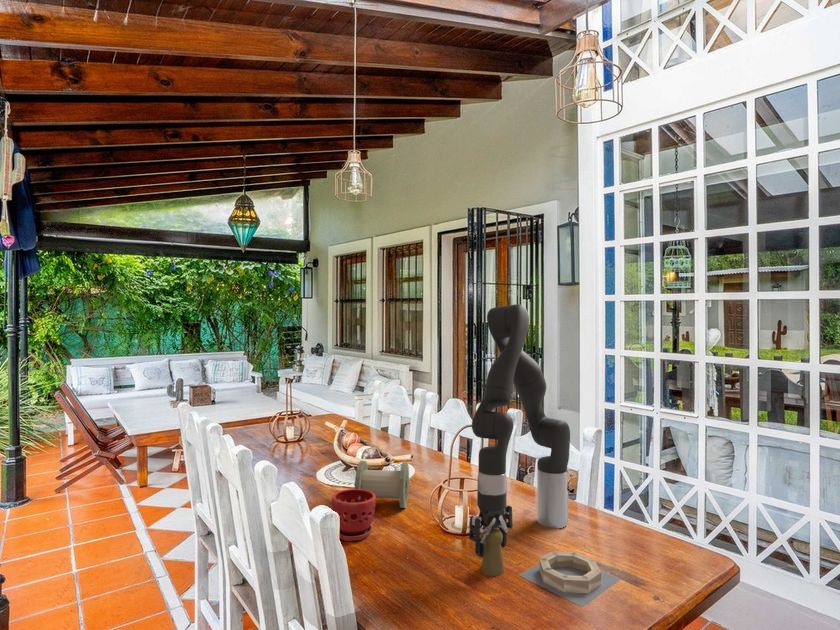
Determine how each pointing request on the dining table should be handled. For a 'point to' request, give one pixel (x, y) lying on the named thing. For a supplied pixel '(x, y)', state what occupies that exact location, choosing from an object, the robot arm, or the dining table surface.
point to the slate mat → (576, 598)
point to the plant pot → (354, 513)
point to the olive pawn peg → (493, 554)
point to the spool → (384, 482)
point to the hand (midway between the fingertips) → (491, 551)
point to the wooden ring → (570, 582)
